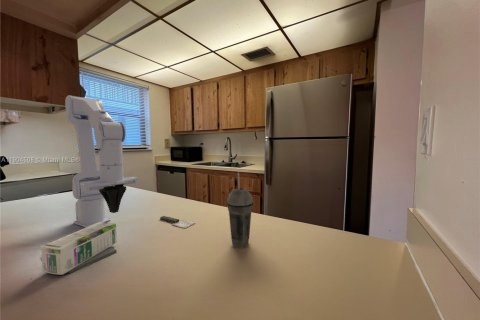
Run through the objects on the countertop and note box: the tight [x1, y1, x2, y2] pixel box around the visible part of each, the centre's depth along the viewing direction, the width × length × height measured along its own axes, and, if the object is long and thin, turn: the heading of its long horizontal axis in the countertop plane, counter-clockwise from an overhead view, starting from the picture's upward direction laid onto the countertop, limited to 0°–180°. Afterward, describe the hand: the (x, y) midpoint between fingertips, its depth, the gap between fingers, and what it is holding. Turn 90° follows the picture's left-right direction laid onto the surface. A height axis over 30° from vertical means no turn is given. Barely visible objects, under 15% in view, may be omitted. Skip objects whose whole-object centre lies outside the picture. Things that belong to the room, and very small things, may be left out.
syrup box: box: [40, 222, 118, 275], centre depth 50 cm, size 6×6×14 cm
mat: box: [67, 246, 117, 274], centre depth 52 cm, size 14×10×1 cm
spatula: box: [159, 215, 196, 229], centre depth 73 cm, size 14×5×1 cm, turn 61°
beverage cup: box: [226, 172, 254, 249], centre depth 56 cm, size 7×7×20 cm
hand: (114, 211), depth 59 cm, fingers closed
